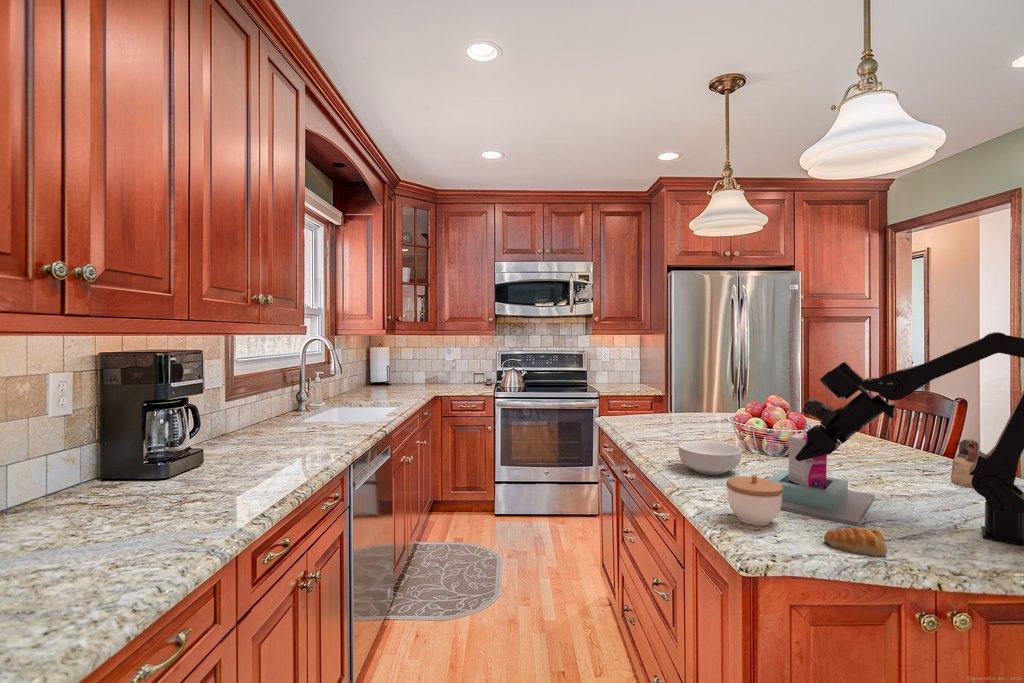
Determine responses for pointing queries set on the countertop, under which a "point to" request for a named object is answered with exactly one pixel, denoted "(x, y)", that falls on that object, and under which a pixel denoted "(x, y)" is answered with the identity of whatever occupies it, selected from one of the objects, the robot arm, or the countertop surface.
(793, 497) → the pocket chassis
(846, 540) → the pastry
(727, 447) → the cereal bowl
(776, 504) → the lidded jar
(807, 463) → the supplement box
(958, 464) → the figurine
